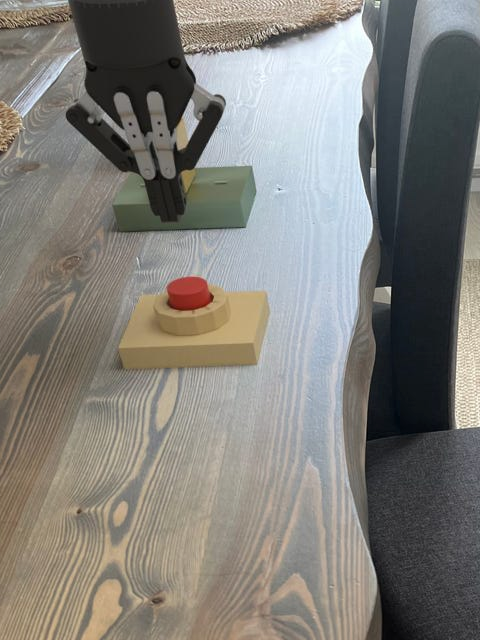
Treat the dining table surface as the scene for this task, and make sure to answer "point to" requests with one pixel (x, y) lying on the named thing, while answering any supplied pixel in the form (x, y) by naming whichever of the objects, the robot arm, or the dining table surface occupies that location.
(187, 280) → the button
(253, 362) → the block
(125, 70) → the robot arm
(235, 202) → the plate
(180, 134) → the handle
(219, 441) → the dining table surface
